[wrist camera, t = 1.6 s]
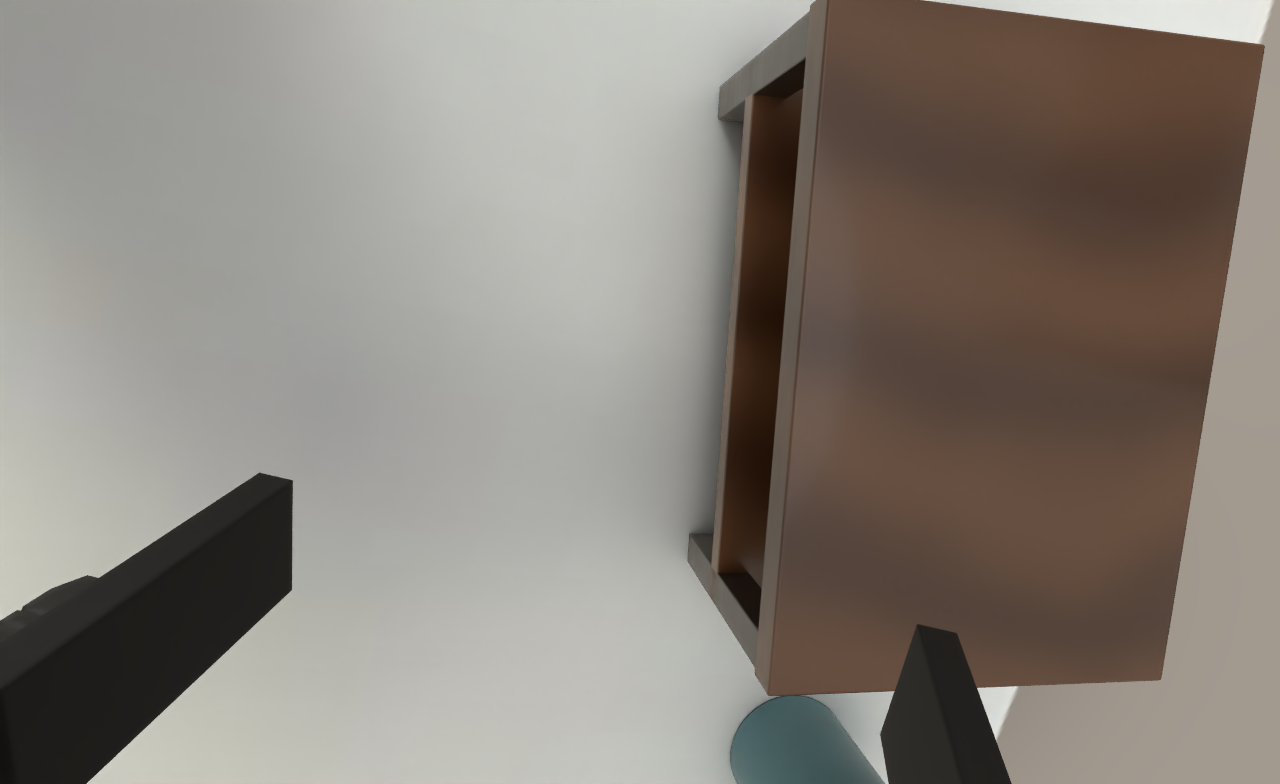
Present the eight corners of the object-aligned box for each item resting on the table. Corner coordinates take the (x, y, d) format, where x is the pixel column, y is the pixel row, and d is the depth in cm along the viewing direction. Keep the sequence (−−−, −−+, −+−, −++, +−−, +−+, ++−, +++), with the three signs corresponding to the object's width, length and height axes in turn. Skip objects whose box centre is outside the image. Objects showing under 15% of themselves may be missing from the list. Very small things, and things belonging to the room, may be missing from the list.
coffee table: (717, 83, 34) (829, -14, 22) (1024, 115, 37) (1267, 44, 25) (685, 563, 37) (767, 697, 26) (969, 561, 40) (1162, 681, 28)
